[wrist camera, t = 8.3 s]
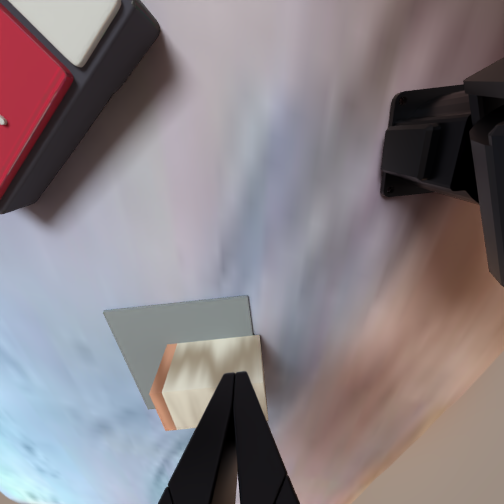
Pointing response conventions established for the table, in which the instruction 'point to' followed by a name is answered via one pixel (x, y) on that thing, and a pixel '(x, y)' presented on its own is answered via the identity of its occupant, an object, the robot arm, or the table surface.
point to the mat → (173, 331)
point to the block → (203, 377)
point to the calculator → (59, 81)
